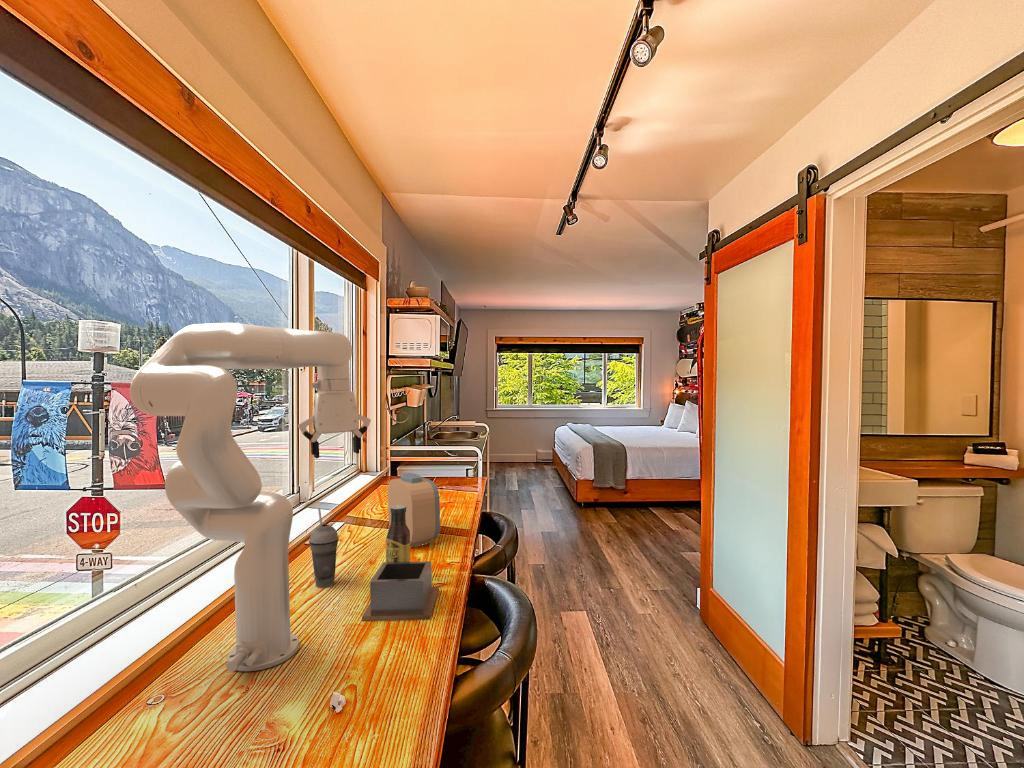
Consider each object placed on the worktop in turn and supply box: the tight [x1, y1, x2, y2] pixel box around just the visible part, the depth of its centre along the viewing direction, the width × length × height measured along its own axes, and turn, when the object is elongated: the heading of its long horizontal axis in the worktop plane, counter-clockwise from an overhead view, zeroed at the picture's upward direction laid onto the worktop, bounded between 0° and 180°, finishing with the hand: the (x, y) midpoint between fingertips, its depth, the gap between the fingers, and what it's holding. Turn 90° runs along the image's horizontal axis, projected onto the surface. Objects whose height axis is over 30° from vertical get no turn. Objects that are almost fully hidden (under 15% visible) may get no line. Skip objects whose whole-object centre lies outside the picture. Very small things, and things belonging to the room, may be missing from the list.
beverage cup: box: [308, 507, 339, 589], centre depth 131 cm, size 7×7×20 cm
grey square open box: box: [361, 560, 440, 622], centre depth 119 cm, size 15×15×8 cm
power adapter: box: [329, 691, 347, 713], centre depth 82 cm, size 3×3×3 cm
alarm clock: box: [387, 472, 441, 548], centre depth 166 cm, size 21×10×22 cm, turn 34°
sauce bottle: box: [385, 505, 411, 562], centre depth 133 cm, size 7×6×20 cm
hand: (336, 455), depth 126 cm, fingers open, 9 cm apart
